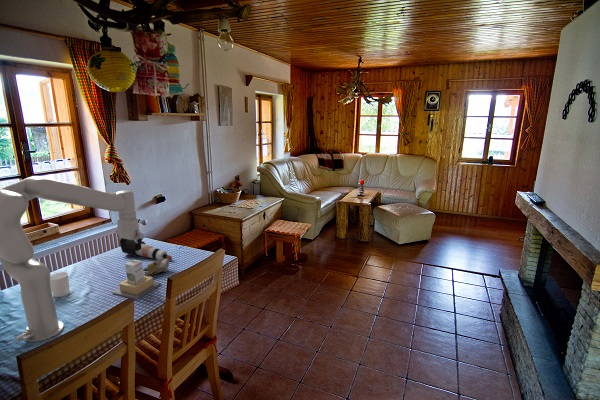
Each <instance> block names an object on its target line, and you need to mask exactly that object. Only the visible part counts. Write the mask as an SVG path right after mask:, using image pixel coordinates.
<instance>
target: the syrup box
mask: <svg viewBox="0 0 600 400" xmlns="http://www.w3.org/2000/svg"><path fill="white" fill-rule="evenodd" d="M124 266H125V272H126V280H128V284H131V285H138V284H140V283H141V282H143V281H145V280H144V275H145V273H144V271H143V269H144V268H143V267H144V266H143V261H142V260H137V259H131V260H130V261H128V262H125V264H124Z"/></svg>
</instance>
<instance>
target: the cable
mask: <svg viewBox="0 0 600 400" xmlns="http://www.w3.org/2000/svg"><path fill="white" fill-rule="evenodd" d="M126 243H127V246H126V247H123V248H121V247H120V248H121V252H122V253H124V254H126V255H127V254H128V255H130V256H134V257H139V258H140V257H145V258H149V259H150V258H151V259H154V260H155V259H158V260H160V261H163V260H165V259H169V261H170V260H172V258H173V256H171V255H168V253H167V251H166V250H162V249H159V248H157V247H155V246H153V245H148V244H146V242H145V241H143V240H142V242H141V247H142V249H140V250H138V251H136V250H135V243H136V242H135V241H134V240H128V239H126Z"/></svg>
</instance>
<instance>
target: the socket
mask: <svg viewBox="0 0 600 400" xmlns="http://www.w3.org/2000/svg"><path fill="white" fill-rule="evenodd" d="M144 280H145V281H143V282H141V283H140V284H138V285H131V284H128V280H127V279H125V280H124V281H123V280H122V281H121V282H119V285H118V286H119V287H118V288H117V289H115V290H114V291H112V292H111V293H112V294H113V295H115V296H120V297H123V298H127V299H130V298H134V299H133V301H135V300H136V301H138V300H139V299H141V298H143V297H144V296H145V295H148V294H149V293H150V292H152V291H154V290H155V289H156V288H158V287H160V286H161V285H162V283H161V282H160V281H154V277H152V276H144ZM129 297H130V298H129Z"/></svg>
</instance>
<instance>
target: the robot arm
mask: <svg viewBox="0 0 600 400" xmlns="http://www.w3.org/2000/svg"><path fill="white" fill-rule="evenodd" d="M35 198H38V199H41V200H46V201H52V202H57V203H63V204H69V205H74V206H80V207H87V208H94V209H99V210H104V211H111V212H117V214H118V217H117V223H116V224H117V225H116V227H117V230H115V231H114V232H115V233H116V237H117V238H118V240H119V246H120V248H123V247H126V246H127V243H126V239H128V240H134V241H135V242H136V243H135V250H136V251H138V250H140V249H142V247H141V242H142V241H143V240H144V236H145V235H144V234H143V233H142V232H141V230H140V225H139V222H138V219H137V213H136V212H137V210H136V203H135V195H134V191H132V190H129V189H125V190H124V189H123V190H119V191H116V192H115V191H113V192H104V191H101V190H97V189H94V188H91V187H87V186H83V185H80V184H76V183H71V182H66V181H62V180H58V179H52V178H49V177H45V176H39V175H31V176H29V177H27V178H24V179H22V180H19V181H17V182H14V183H12V184H10V185H7V186H5V187H2V188H0V263H1V266H2V267H3V268H4V269H5V271H6V273H7V274H8V275H9V276H10V278H12V279H13V280H14V281H16V282H17V283H18V284H19V286H20V298H21V303H22V306H23V310H24V314H25V318H26V319H25V320H26V323H27V327H25V331H24V332H23V333H22V334H19V335H18V336H15V338H14V339H15V340H14V341H16V342H17V343H18V342H20V341H21V340H23V341H24V342H25V341H28V342H30V343H37V342H38V343H39V342H43V340H44V341H46V339H47V340H49V339H52V338H54V337H55V336H57V335H59V334H60V333H61V332H62V331H63V330H64V327H65V326H64V325H65V324H64V323H63V322H62V321H60V320H59V319H58V314H57V310H56V305H55V300H54V296H53V292H52V290H51V283H50V276H51V271H50V269H49V268H48V267H47V265H45V264H44V263H43V262H42V261H39V260H37V259H35V258H34V255H35V248H34V245H33V243H32V242H31V241H30V239H29V237H28V236H27V233H26V232H25V230H24V228H23V226H22V223H21V220H22V217H23V216H24V214H25V213H26V211H28V209H29V201H32V200H34V199H35ZM53 336H54V337H53ZM51 337H52V338H51ZM48 338H49V339H48Z"/></svg>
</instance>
